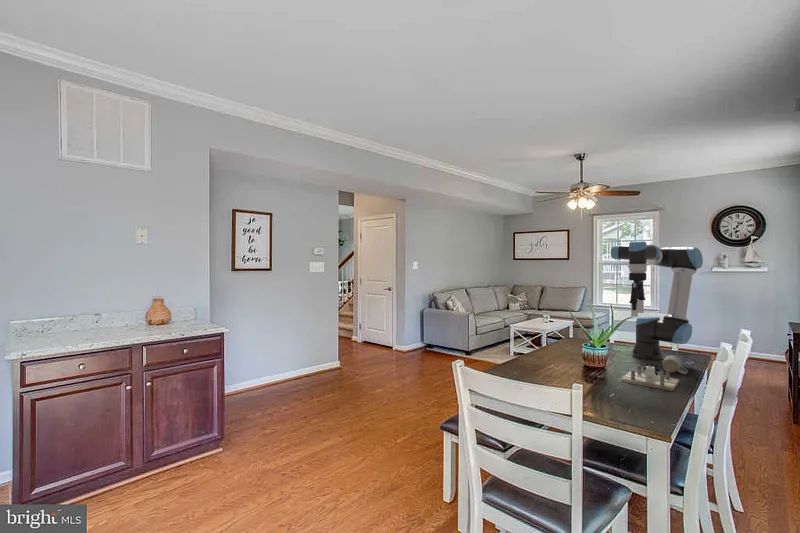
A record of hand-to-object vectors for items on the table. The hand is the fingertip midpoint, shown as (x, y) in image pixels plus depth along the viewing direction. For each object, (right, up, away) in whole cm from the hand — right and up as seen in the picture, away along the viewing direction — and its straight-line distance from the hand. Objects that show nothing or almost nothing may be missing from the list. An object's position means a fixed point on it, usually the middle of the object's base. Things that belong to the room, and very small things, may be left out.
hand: (637, 314), depth 205 cm
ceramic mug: (+19, -29, +1) cm, 35 cm away
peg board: (-3, -29, -15) cm, 33 cm away
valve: (-3, -28, -15) cm, 32 cm away
